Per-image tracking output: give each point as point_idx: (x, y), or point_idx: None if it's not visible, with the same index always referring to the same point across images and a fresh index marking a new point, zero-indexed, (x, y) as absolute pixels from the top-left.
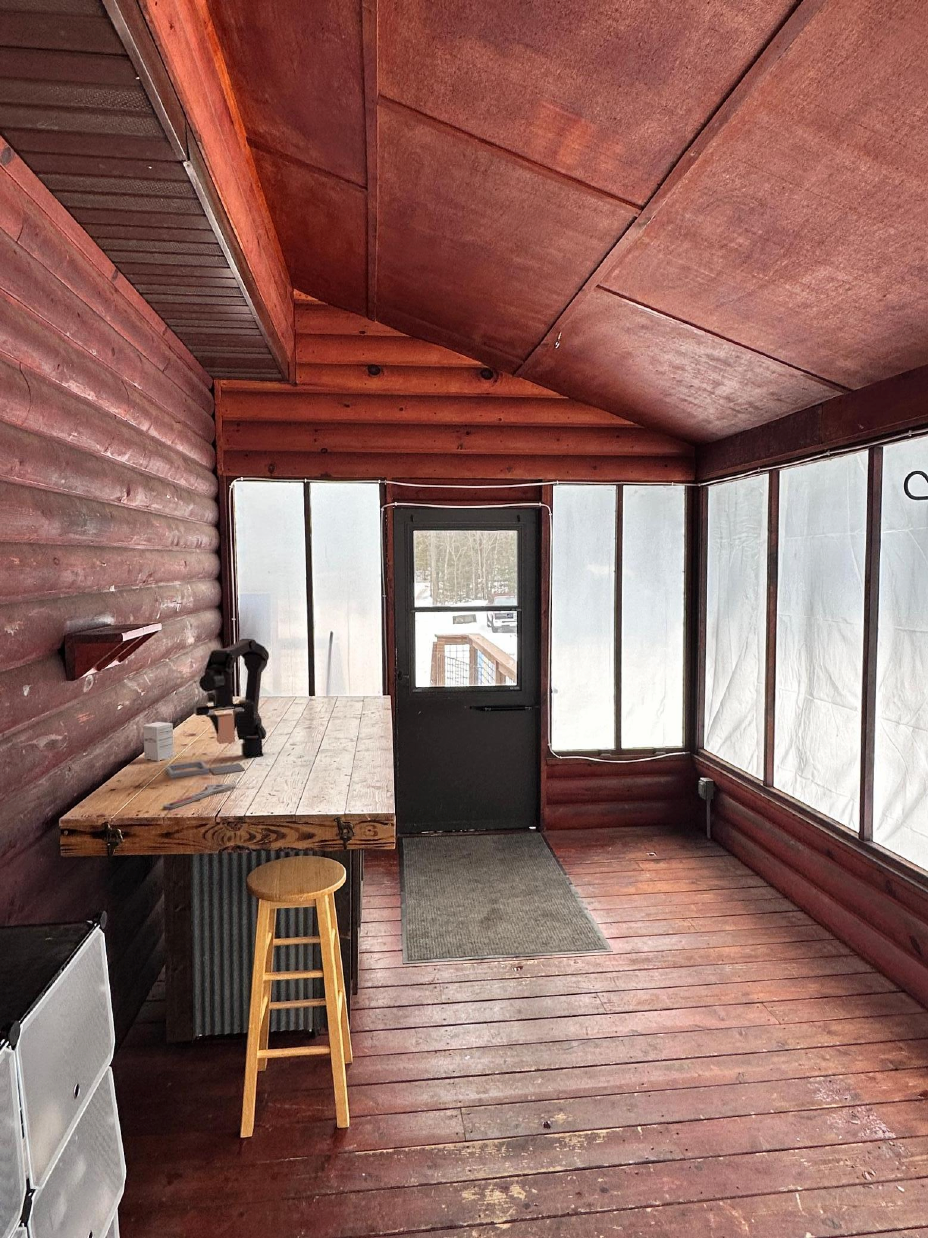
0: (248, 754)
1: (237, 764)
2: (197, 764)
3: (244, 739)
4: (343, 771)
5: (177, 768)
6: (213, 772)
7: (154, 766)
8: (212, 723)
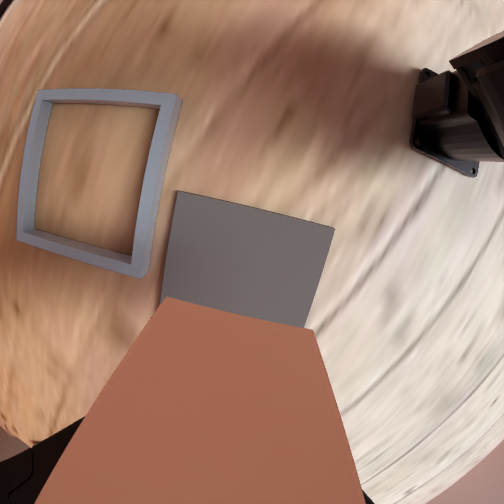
0: (432, 136)
1: (315, 249)
2: (150, 106)
3: (473, 96)
4: (429, 473)
5: (74, 102)
6: (161, 302)
7: (57, 12)
8: (25, 453)
